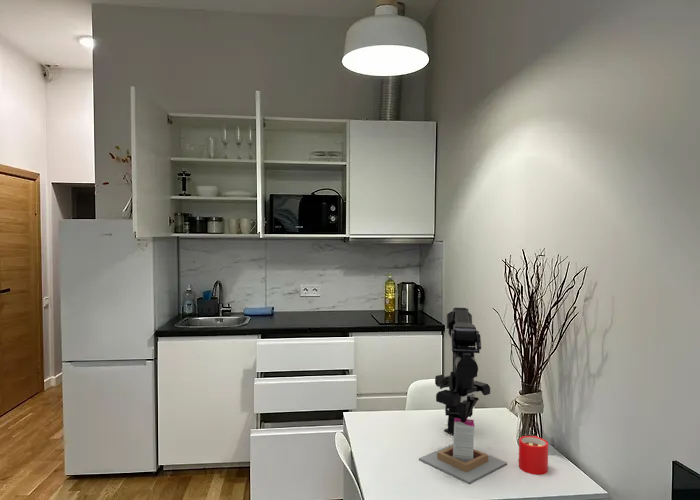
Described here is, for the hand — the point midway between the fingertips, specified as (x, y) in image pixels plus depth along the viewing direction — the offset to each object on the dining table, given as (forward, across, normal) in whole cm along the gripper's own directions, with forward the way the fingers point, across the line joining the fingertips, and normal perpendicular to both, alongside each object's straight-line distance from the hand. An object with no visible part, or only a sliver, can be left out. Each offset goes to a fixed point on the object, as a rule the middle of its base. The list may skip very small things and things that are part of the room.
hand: (463, 421), depth 143 cm
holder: (+12, 0, 0) cm, 12 cm away
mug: (+12, -15, +14) cm, 24 cm away
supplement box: (+12, 0, 0) cm, 12 cm away
